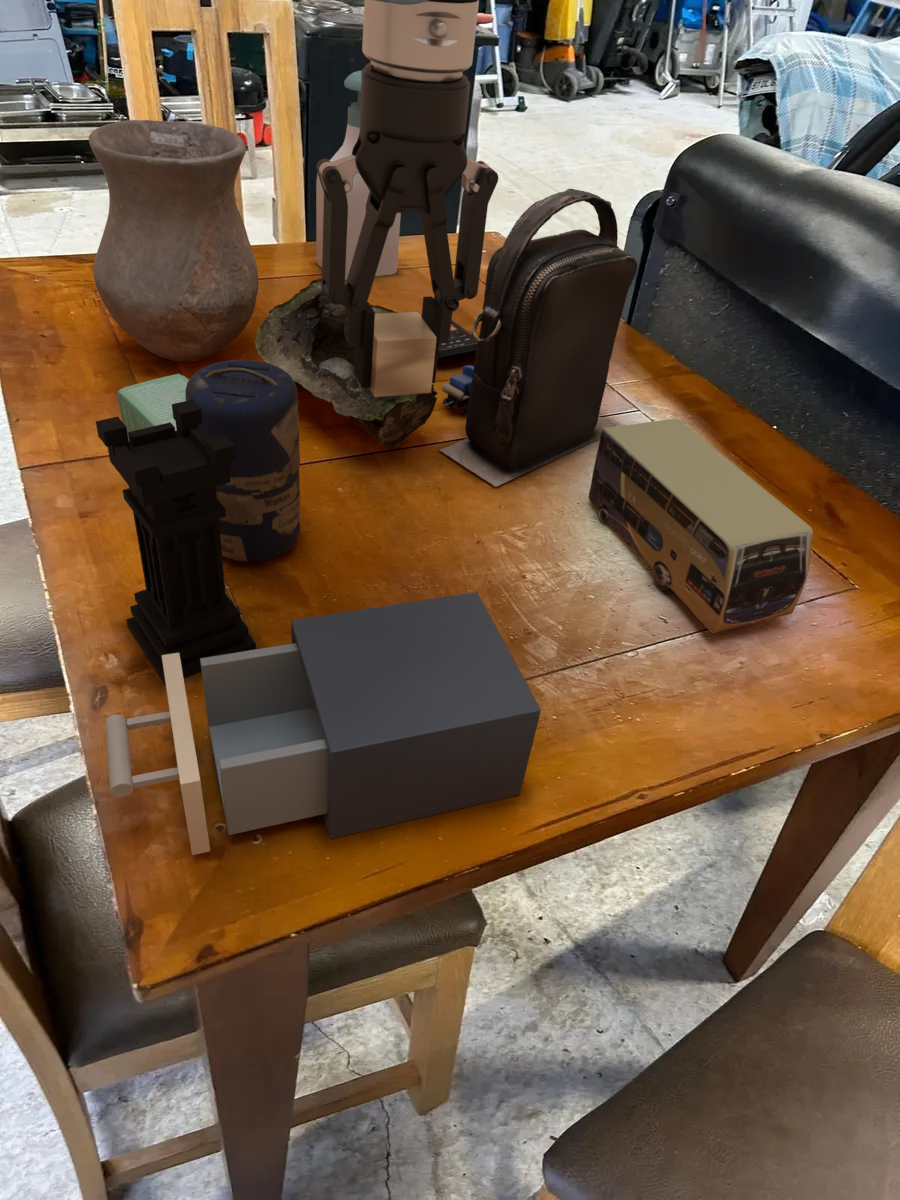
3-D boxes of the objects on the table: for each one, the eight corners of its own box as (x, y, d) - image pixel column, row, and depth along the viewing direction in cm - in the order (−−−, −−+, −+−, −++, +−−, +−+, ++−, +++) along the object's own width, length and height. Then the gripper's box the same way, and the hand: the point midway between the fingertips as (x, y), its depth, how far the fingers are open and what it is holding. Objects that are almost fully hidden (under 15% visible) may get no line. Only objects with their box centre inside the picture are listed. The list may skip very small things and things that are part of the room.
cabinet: (329, 839, 62) (330, 752, 56) (293, 707, 71) (290, 619, 64) (520, 795, 66) (541, 710, 60) (464, 676, 75) (477, 591, 69)
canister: (272, 580, 82) (264, 407, 70) (181, 552, 84) (159, 379, 72) (317, 525, 89) (317, 359, 77) (232, 500, 91) (219, 334, 79)
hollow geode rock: (415, 502, 102) (503, 402, 99) (346, 456, 91) (443, 342, 89) (306, 385, 118) (380, 296, 115) (238, 334, 107) (317, 236, 105)
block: (374, 397, 73) (377, 340, 70) (358, 369, 77) (360, 314, 74) (431, 393, 75) (436, 337, 72) (413, 365, 78) (417, 311, 75)
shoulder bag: (565, 398, 114) (613, 166, 96) (620, 428, 110) (682, 191, 91) (438, 452, 101) (466, 196, 83) (495, 489, 97) (537, 227, 78)
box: (186, 429, 100) (179, 368, 95) (249, 487, 93) (245, 425, 88) (124, 447, 96) (113, 385, 91) (185, 510, 89) (177, 446, 84)
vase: (83, 332, 115) (44, 119, 98) (219, 307, 124) (204, 109, 108) (146, 400, 104) (114, 173, 87) (290, 366, 113) (286, 156, 97)
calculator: (451, 326, 127) (453, 305, 125) (497, 361, 120) (500, 340, 118) (395, 336, 123) (396, 315, 121) (439, 373, 116) (441, 351, 114)
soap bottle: (337, 285, 134) (341, 80, 116) (316, 265, 139) (316, 65, 121) (402, 278, 139) (415, 79, 121) (379, 258, 144) (388, 65, 126)
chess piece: (165, 685, 71) (130, 476, 58) (127, 626, 76) (87, 420, 63) (256, 649, 75) (243, 446, 62) (215, 595, 80) (195, 395, 66)
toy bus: (706, 644, 81) (737, 555, 74) (581, 508, 97) (598, 427, 91) (791, 623, 84) (828, 537, 78) (658, 496, 100) (679, 416, 94)
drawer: (124, 871, 58) (105, 799, 53) (113, 738, 66) (96, 665, 60) (386, 811, 63) (392, 741, 58) (347, 696, 71) (350, 625, 66)
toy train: (569, 372, 120) (576, 336, 117) (456, 422, 107) (460, 384, 103) (548, 361, 122) (554, 326, 118) (434, 409, 109) (437, 371, 105)
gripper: (298, 74, 55) (299, 407, 70) (558, 86, 61) (507, 391, 76) (274, 48, 60) (280, 364, 75) (515, 61, 66) (476, 352, 81)
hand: (394, 377), depth 76 cm, fingers closed on block, 5 cm apart
